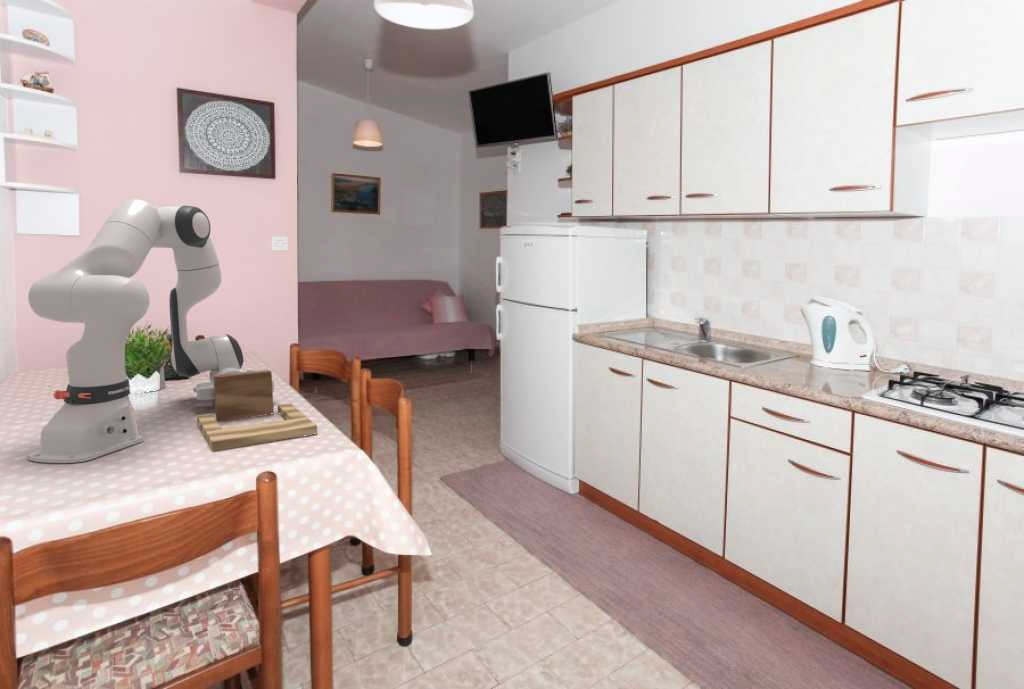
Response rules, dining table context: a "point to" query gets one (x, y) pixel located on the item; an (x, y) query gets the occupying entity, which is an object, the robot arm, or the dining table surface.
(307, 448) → the dining table surface
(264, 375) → the plank
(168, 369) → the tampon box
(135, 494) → the dining table surface
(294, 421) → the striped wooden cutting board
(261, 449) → the dining table surface
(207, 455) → the dining table surface
